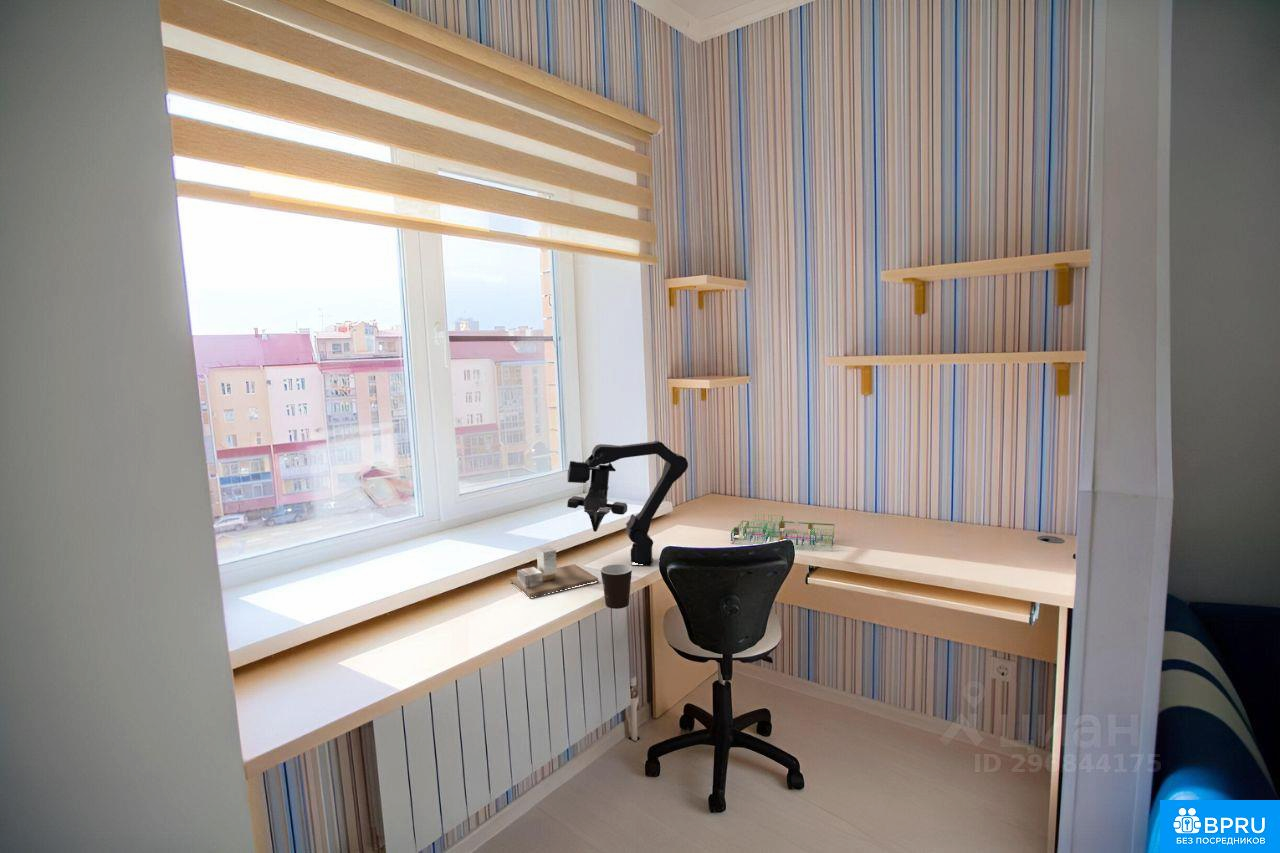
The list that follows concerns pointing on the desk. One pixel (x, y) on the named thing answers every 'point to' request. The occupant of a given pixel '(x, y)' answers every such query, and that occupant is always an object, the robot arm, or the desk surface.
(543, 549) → the white boxy piece
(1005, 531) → the desk surface
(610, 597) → the coffee mug
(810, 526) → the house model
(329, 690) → the desk surface
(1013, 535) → the desk surface
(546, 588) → the lock plate
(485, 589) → the desk surface
